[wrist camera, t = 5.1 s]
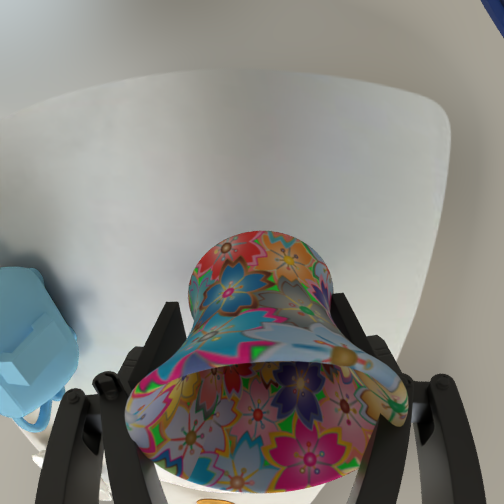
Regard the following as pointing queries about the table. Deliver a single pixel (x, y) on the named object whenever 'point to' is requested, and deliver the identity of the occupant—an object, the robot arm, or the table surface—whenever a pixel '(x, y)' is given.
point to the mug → (262, 377)
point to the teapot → (32, 348)
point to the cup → (213, 501)
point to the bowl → (103, 486)
